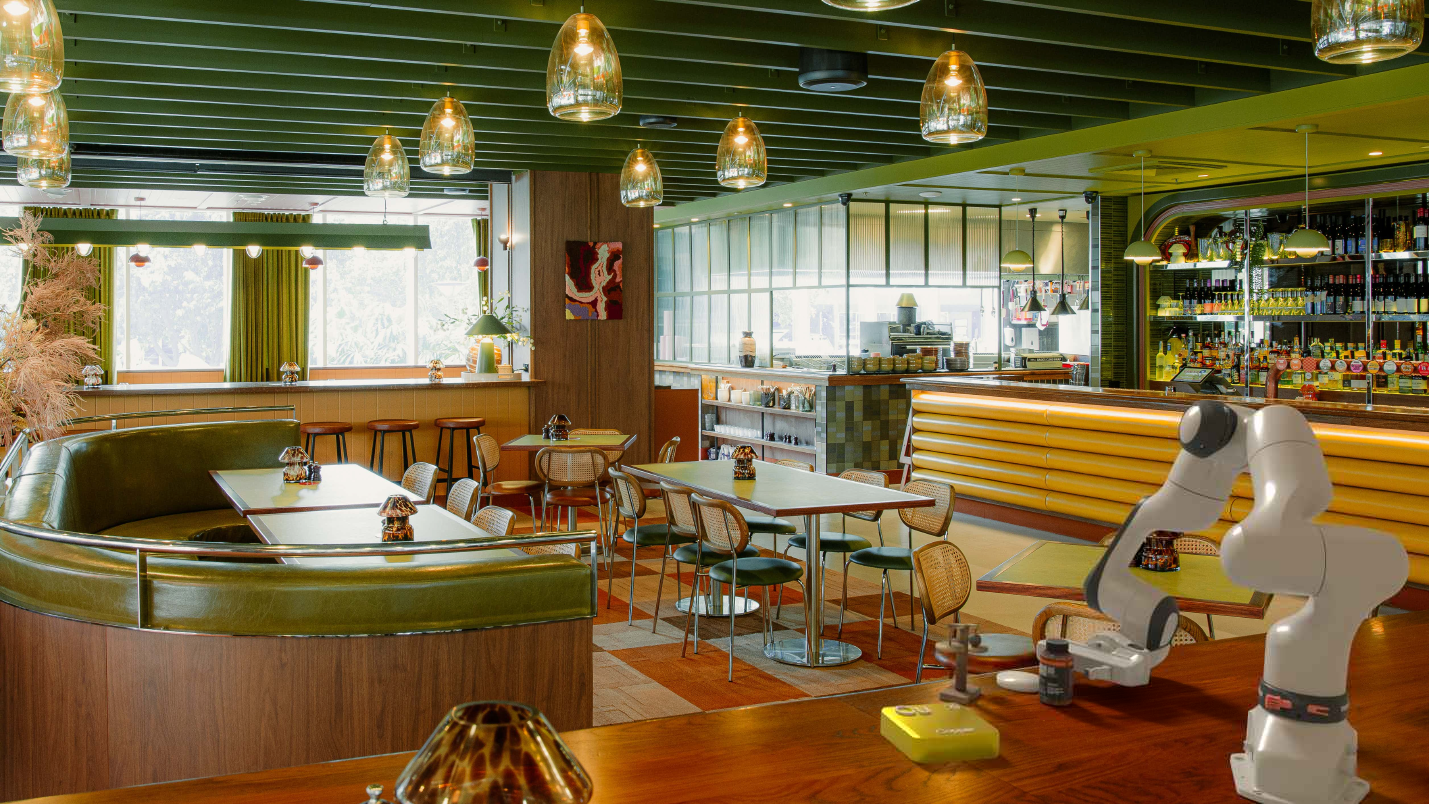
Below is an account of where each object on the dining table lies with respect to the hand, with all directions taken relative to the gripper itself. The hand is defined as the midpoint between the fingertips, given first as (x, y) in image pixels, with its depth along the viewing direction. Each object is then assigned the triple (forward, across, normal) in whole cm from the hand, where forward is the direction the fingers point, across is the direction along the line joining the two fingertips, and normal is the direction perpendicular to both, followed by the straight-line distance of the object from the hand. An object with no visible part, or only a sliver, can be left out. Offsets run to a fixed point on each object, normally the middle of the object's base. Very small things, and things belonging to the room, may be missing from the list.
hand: (1064, 667), depth 199 cm
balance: (+15, -11, +6) cm, 20 cm away
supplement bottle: (+2, 0, +6) cm, 7 cm away
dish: (0, -10, +6) cm, 11 cm away
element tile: (+37, +2, +7) cm, 37 cm away
